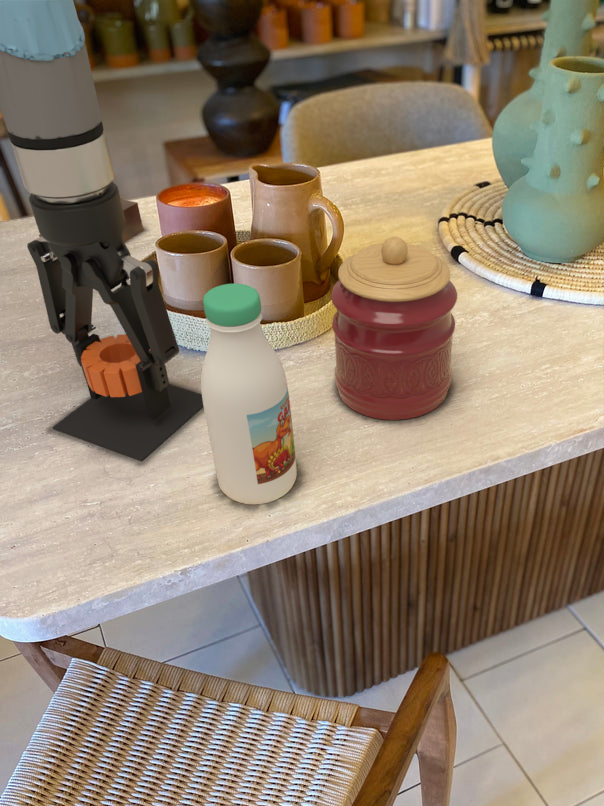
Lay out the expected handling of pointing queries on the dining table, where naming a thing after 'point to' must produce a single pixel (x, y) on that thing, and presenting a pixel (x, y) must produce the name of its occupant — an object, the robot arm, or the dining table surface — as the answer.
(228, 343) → the milk bottle
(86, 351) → the orange gear
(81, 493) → the dining table surface
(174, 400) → the mat
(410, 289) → the kitchen canister
